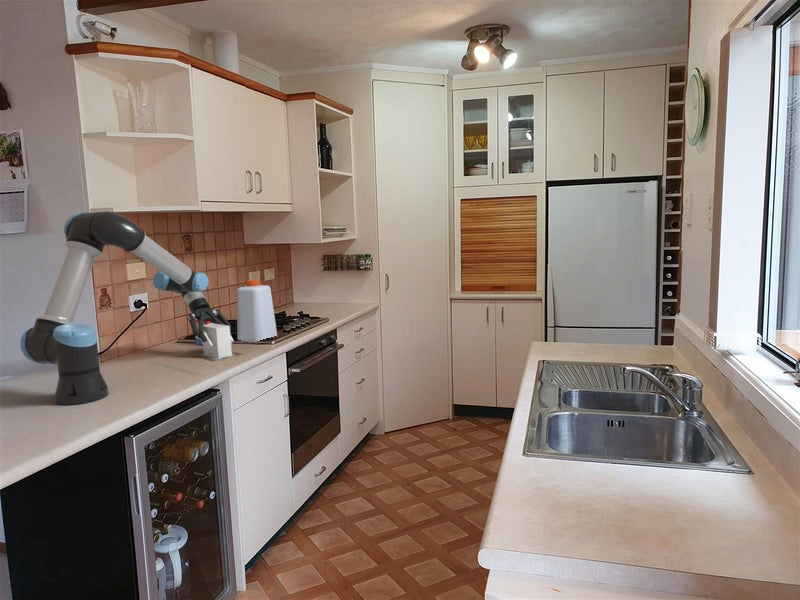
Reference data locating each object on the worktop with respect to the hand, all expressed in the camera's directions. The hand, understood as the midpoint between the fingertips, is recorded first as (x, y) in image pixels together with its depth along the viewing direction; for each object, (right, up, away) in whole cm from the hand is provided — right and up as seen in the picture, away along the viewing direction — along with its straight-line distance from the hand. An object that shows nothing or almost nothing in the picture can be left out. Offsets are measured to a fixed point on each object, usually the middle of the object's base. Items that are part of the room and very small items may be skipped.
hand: (221, 344), depth 236 cm
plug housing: (-2, -4, +3) cm, 6 cm away
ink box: (-16, -2, +31) cm, 35 cm away
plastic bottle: (+6, -1, +34) cm, 34 cm away
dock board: (-2, -5, +3) cm, 7 cm away
